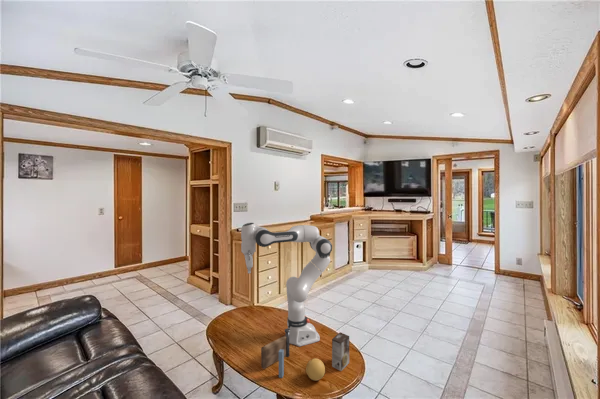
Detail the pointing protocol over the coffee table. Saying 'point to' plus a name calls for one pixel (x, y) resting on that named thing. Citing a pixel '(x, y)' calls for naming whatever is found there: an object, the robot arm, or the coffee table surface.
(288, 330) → the hinge post
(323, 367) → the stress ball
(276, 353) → the wooden gate panel
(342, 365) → the coffee box
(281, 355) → the post
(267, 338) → the coffee table surface
